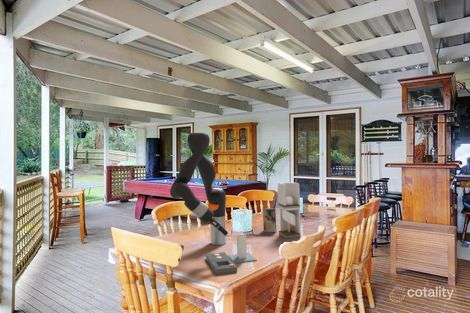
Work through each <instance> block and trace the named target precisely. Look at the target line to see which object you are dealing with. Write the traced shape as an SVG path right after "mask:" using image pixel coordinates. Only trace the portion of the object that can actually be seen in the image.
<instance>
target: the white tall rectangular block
mask: <svg viewBox="0 0 470 313" xmlns="http://www.w3.org/2000/svg"><path fill="white" fill-rule="evenodd" d="M247 253H248V252H247V234H245V233H244V232H242V233H241V232H240V233H237V234H236V254H237V257H238V258H239V259H244V258H247Z"/></svg>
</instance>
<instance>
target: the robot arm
mask: <svg viewBox="0 0 470 313" xmlns="http://www.w3.org/2000/svg"><path fill="white" fill-rule="evenodd" d="M210 138H211V137H210V135H209V133H207V132H190V133H189V134H188V136H187V144H188V147H189V150H190V152H191V153H192V155H190V156H189V157H188V158H186V160H185V161H184V162H183V163H182V165H181V168H180V169H179V171H178V174H177V176H176V178H175V180H174V182H173V183H172V185H171V187H170V190H169V193H170V197H172V199H177V200H179V199H180V198H181V199H182V200H183V201H184V206H185V207H186V208H187V209H188V210H189V211H190V212H191V213H192V214H193V215H194V216H195V217H196V218H197V219H198V220H199V221H201V222H202V223H203V224H207V223H208V224H209V225H210V244H211V245H213V246H223V245H225V244H226V243H227V242H226V241H227V239H226V236H227V235H228V234H229V232H228V231H227V230H226V228H227V227H226V204H227V201H226V198H227V196H226V195H227V194H226V191H224V190H223V189H213V183H214V181H215V179H216V177H217V173H216V169H215V166H214V163H213V161H211V160H210V158H208V157H207V156H206V154H205V153H206V151H207V150H208V148H209V146H210V142H211V140H210ZM196 168H197V169H198V172H199V175H200V178H201V181H202V183H203V184H202V185H203V187H204V191H205V195H206V196H205V197H206V200H207V203H208V204H209V205H211V206H218V207H217V208H216V209H213V210H212V209H211V208H210V207H209V206H208V205H207V204H206V203H204V202H203V201H201V199H199V198H198V197H197V196H196V195H195V194H194V192H193V191H192V189H191V188H190V187H189V186H188V184H189V183H190V182H191V180H192V178H193V175H194V173H195V171H196Z"/></svg>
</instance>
